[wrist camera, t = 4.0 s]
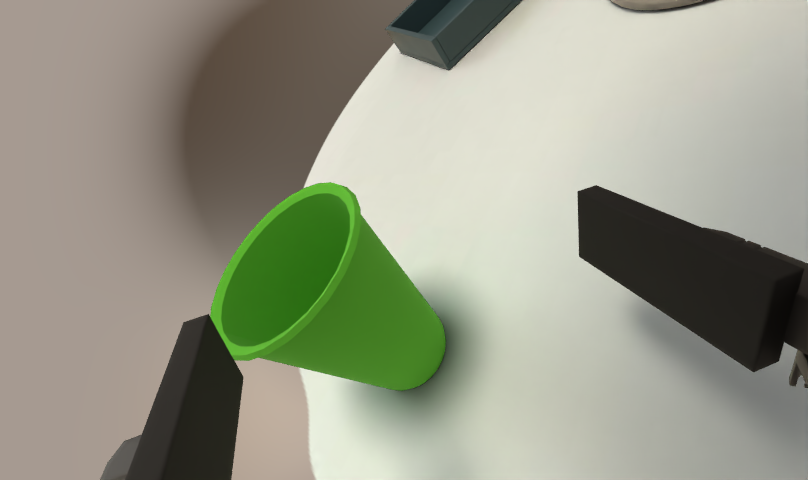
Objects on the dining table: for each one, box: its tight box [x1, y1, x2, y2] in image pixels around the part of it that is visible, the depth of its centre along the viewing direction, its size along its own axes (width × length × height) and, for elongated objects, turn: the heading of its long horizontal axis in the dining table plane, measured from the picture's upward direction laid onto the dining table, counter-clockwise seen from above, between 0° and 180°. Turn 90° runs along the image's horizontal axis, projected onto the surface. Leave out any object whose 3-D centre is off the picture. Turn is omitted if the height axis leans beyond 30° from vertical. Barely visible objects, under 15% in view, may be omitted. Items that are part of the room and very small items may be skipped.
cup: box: [210, 182, 446, 391], centre depth 22 cm, size 9×9×11 cm
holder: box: [385, 0, 521, 70], centre depth 46 cm, size 13×13×4 cm
